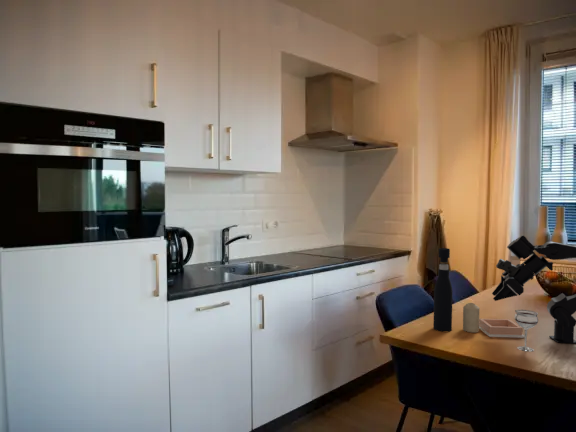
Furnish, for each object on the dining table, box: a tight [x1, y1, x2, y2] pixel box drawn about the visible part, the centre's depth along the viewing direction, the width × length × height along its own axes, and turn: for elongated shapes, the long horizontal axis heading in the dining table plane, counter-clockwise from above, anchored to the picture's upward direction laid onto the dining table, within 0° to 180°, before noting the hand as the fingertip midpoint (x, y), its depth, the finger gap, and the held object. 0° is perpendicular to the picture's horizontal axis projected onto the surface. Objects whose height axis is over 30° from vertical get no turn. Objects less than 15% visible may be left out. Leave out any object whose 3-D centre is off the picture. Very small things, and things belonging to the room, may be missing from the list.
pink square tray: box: [479, 318, 525, 339], centre depth 161 cm, size 12×12×3 cm
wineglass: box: [514, 309, 539, 352], centre depth 143 cm, size 7×7×12 cm
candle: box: [462, 302, 480, 334], centre depth 163 cm, size 6×6×10 cm
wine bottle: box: [433, 247, 454, 332], centre depth 164 cm, size 6×6×30 cm
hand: (493, 297), depth 160 cm, fingers open, 9 cm apart
